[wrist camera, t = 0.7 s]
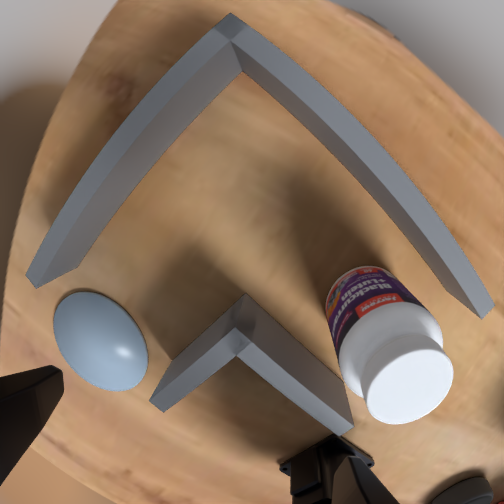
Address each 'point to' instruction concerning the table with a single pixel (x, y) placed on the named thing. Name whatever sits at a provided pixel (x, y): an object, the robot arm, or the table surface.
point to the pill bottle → (387, 345)
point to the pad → (100, 341)
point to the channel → (245, 309)
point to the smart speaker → (467, 493)
